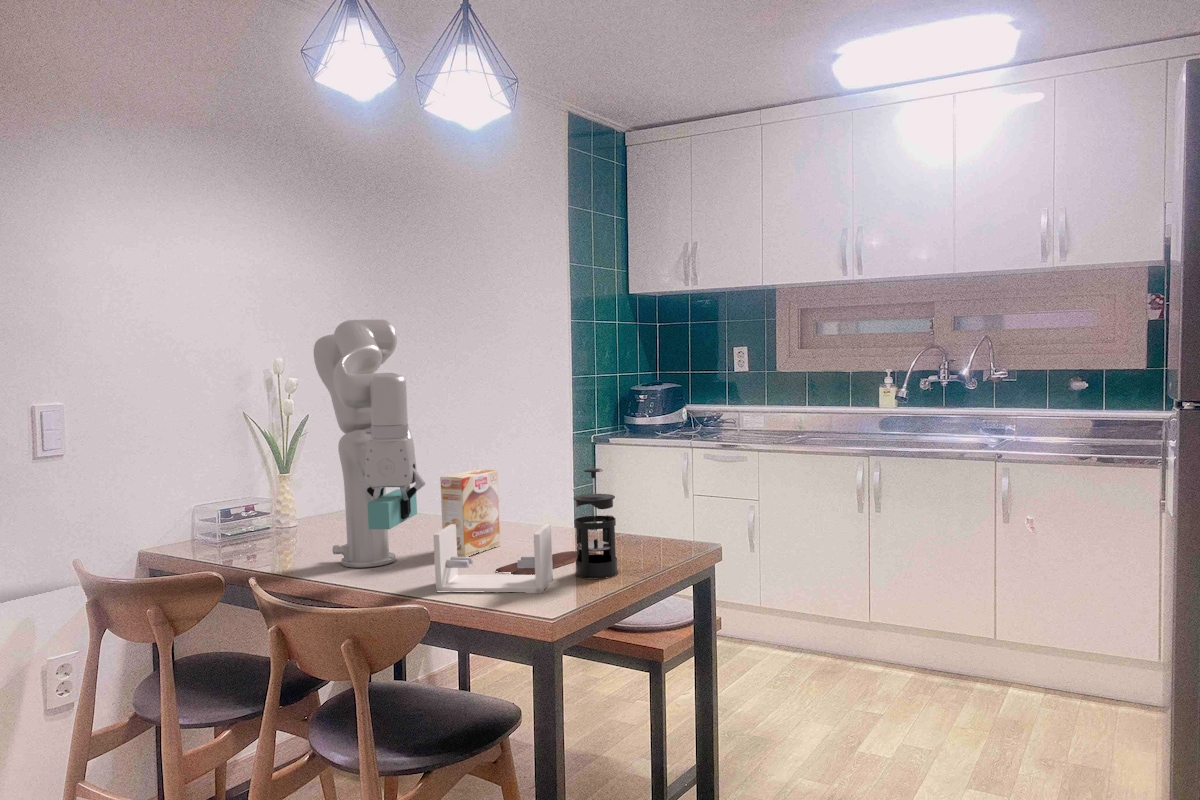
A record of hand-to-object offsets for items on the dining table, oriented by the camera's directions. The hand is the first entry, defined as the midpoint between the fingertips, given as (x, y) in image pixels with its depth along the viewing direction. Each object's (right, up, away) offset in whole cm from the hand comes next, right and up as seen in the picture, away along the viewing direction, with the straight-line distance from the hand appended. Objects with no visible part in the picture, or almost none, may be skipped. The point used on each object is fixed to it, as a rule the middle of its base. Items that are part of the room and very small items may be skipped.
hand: (393, 517), depth 193 cm
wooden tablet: (+32, -13, +15) cm, 38 cm away
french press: (+44, -13, +4) cm, 46 cm away
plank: (0, -1, 0) cm, 1 cm away
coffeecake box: (+13, -13, +31) cm, 36 cm away
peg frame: (+22, -14, -4) cm, 27 cm away
